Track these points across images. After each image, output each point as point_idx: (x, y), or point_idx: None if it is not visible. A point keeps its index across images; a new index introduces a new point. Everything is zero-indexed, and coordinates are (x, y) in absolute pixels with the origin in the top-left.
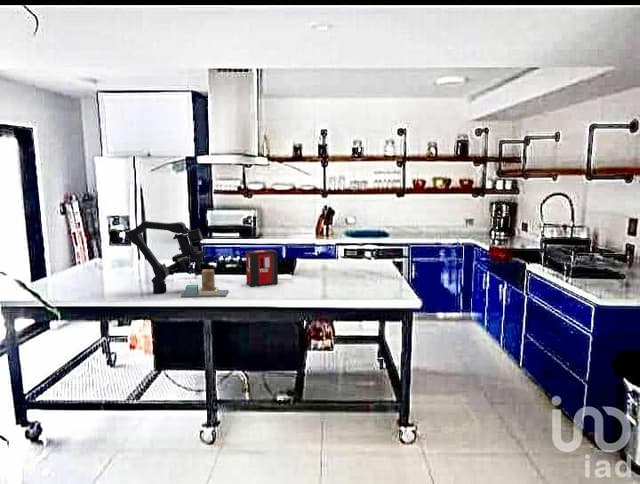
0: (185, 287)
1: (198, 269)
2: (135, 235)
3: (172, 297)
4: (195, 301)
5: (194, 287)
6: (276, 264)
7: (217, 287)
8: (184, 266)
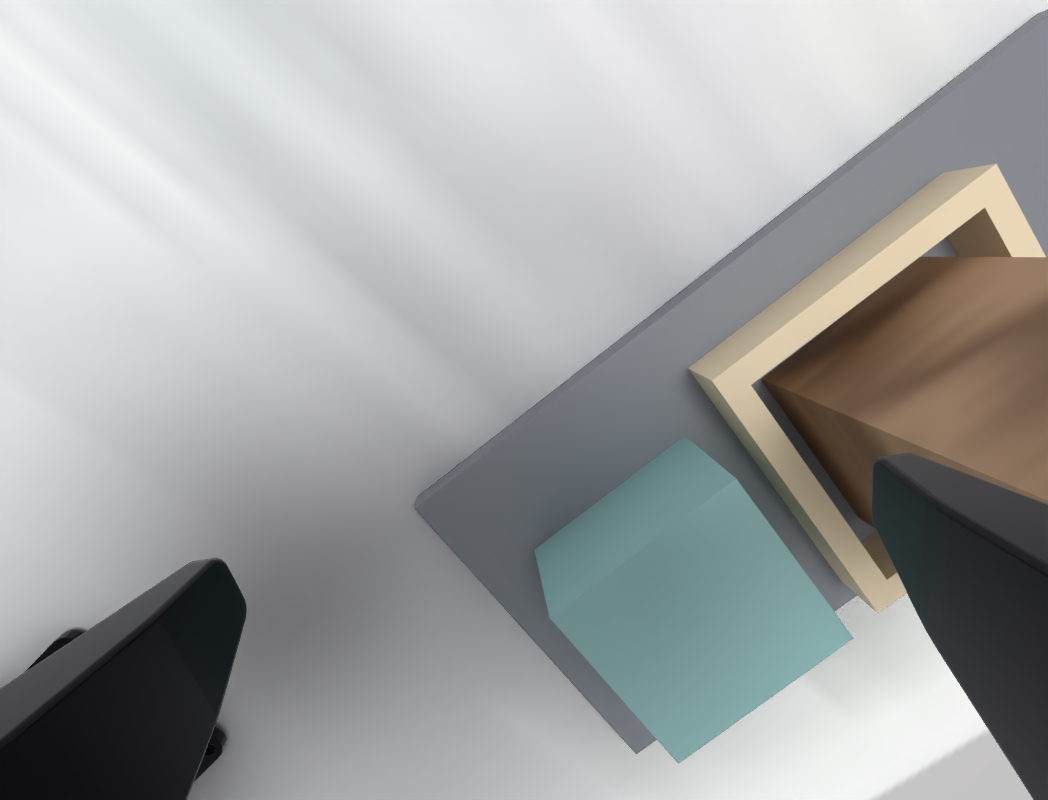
0: (680, 759)
1: (904, 563)
2: None
3: (515, 791)
4: (940, 740)
5: (817, 658)
6: None
7: (1001, 202)
8: (92, 785)
